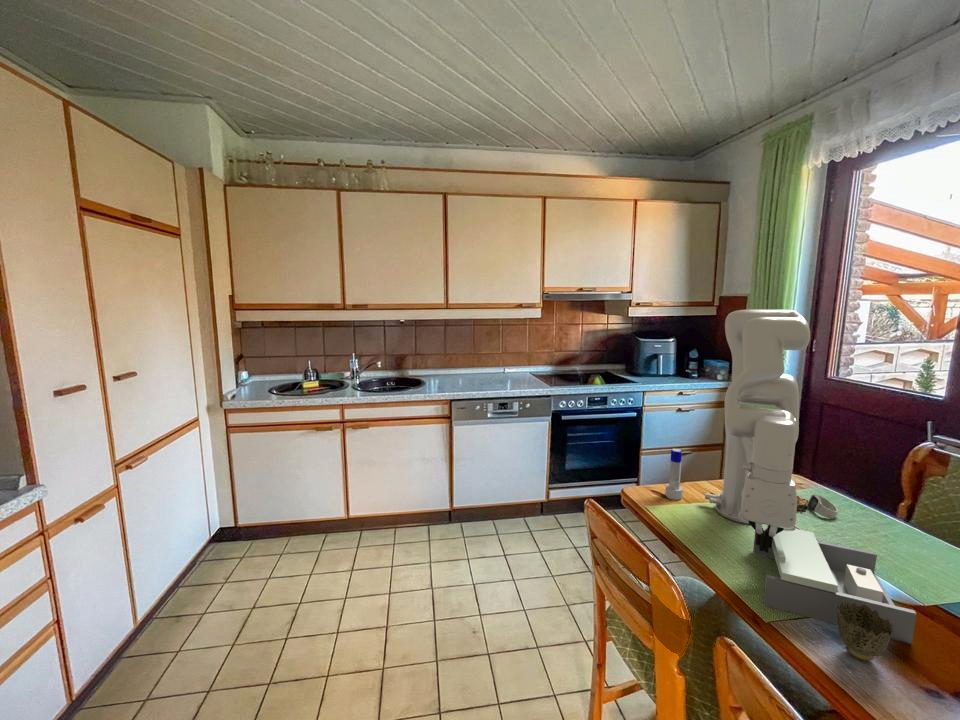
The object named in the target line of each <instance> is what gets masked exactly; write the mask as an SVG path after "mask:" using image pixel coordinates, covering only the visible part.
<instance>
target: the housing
mask: <svg viewBox="0 0 960 720" xmlns="http://www.w3.org/2000/svg"><path fill="white" fill-rule="evenodd" d="M763 530H764V531H765V530H766V529H763ZM817 542H818V544H819V546H820V549H821V551H822V553H823V555H824V557H825V559H826V561H827V563H828V566H829V568H830V570H831V572H832V574H833V576H834V578H835V580H836V583H837V585H838V589H837V593H834V592H830V591H826V590H822V589H818V588H814V587H809V586H805V585H801V584H797V583H793V582H789V581H785V580H781V577H777V576H772V575H769V574H766V575H765V584H764V591H763V592H764V593H763V602H764V603H763V605H764V604H765V605H764V606H766V605H767V606H766V607H770V606H771V608H773V607H775V608H774V609H777V608H778V609H777V610H781V609H782V611H786V612H788V611H789V613H792V614H797V615H800V616H804V617H808V618H811V619H815V620H819V621H822V622H827V623H829V624H834V625H837V626H838V621H837V607H838V605H839V607H840V605H841V603H842V602H843V604H844V603H845V602H848V603H849V604H850V606H851V605H852V603H853V602H855V603H856V604H857V606H861V605H866V606H868V607H869V608H870V609H871V610H872V611H874V610H877V611H878V612H879V617H880V618H883V620H884V621H885V619H889V620H890V624H893V625H894V627H893V631H892V634H891V637H890V640H894V641H896V642H901V643H903V644H904V643H905V644H909V645H913V638H914V633H915V626H916V620H917V612H916V611H915V610H914V609H910V608H906V607H901V606H898V605H895V603H894V602H893V599H892V598H891V596H890V595H889V594H888V592H887V591H886V589H885V587H884V585H883V584H882V583H881V581H880V579H879V578H878V576H877V574H876V573H875V571H876V565H877V564H876V563H877V557H878V554H877V553H876V552H874V551H869V550H864V549H860V548H855V547H854V548H853V547H850V546H845V545H839V544H836V543H835V544H834V543H832V542H831V543H830V542H825V541H822V540H821V541H820V540H817ZM752 554H754V555H758V556H763V557H767V558H770V559H771V558H772V559H775V556H774V552H773V549H772V548H769V549H768V553H766V552H765V551H760V550H759V545H756V531H755V530H754V539H753V550H752ZM847 564H848V565H852V566H857V567H861V568H866V569H870V570H871V572H872V573H873V575H874V577H875V578H876V580H877V582H878V584H879V585H880V587H881V589H882V590H883V599H882V602H877V601H873V600H869V599H865V598H861V597H857V596H852V595H848V593H847V591H846V589H845V586H844V580H845V572H846V565H847Z"/></svg>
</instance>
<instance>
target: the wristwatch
mask: <svg viewBox="0 0 960 720" xmlns="http://www.w3.org/2000/svg"><path fill="white" fill-rule="evenodd" d="M808 500H809V501H808V506H807V507H808V509H809V510H810V512H812V513H817V514H818V515H820V516H822V517H823V518H827V519H830V520H831V519H835V518H837V517H836V516H837V515H838V514H839V509H838V508H837V505H836V504H835V503H832V502H831V501H829V500H828V499H827V498H825V497H824V496H822V495H820V494H817V493H811V496H810V497H809V499H808Z"/></svg>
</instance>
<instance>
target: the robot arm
mask: <svg viewBox="0 0 960 720" xmlns="http://www.w3.org/2000/svg"><path fill="white" fill-rule="evenodd" d="M724 331H725V337H726V342H727V344H728V347H729V349H730V353H731V359H732V365H731V368H732V369H731V383H730V384H729V385H728V387H727V389H726V392H725V396H724V428H725V457H724V458H725V462H724V472H723V484H722V491H720V493H717V494H713V493H708V492H705V493H704V500H707V501H709V503H710V504H715V510H716V512H717V513H718V514H719V515H721V516H723V517H724V518H726V519H729V520H731V521H733V522H738V523H741V524H748V525H750V526H751V527H752V528H753V530H754V532H755V531H756V545H759V550H760V551H765V552H766V553H768V549H769V548H772V541H773V537H774V536H775V535H776V534H778V533H779V532H781V531H783V530H784V531H794V530H795V529H796V523H797V510H798V509H797V486H796V483H795V481H794V480H793V479H792V477H793V476H792V475H793V467H794V458H795V457H794V456H795V449H796V448H795V447H796V443H797V441H798V439H799V432H800V427H799V425H800V421H799V419H800V391H799V385H798V382H797V380H796V378H795V377H793V376H792V375H790V374H787V373H785V363H784V362H785V361H784V353H783V351H803V350H806V348H807V347H808V346H809V344H810V342H811V341H810V340H811V330H810V326H809V322H808V321H807V319H806V318H805V317H804V316H802V315H801V314H800V313H799V312H798V311H796V310H794V309H793V310H792V309H739V310H734V311H732V312H730V313H728V315H727V316H726V317H725V322H724ZM739 403H740V404H744V405H753V406H742V405H739ZM755 406H756V407H755ZM757 406H765V407H757ZM766 407H767V408H766ZM768 407H774V408H768ZM763 525H766V527H767V526H768V527H767V528H765V529H764V527H763ZM764 530H765V531H764Z"/></svg>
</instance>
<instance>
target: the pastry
mask: <svg viewBox="0 0 960 720" xmlns="http://www.w3.org/2000/svg"><path fill="white" fill-rule="evenodd" d="M808 501H809V499H808V498H805V497H803V496H802V495H797V510H799V511H800V514H801V515H806V514H805V513H806V510H805V507H808Z"/></svg>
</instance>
